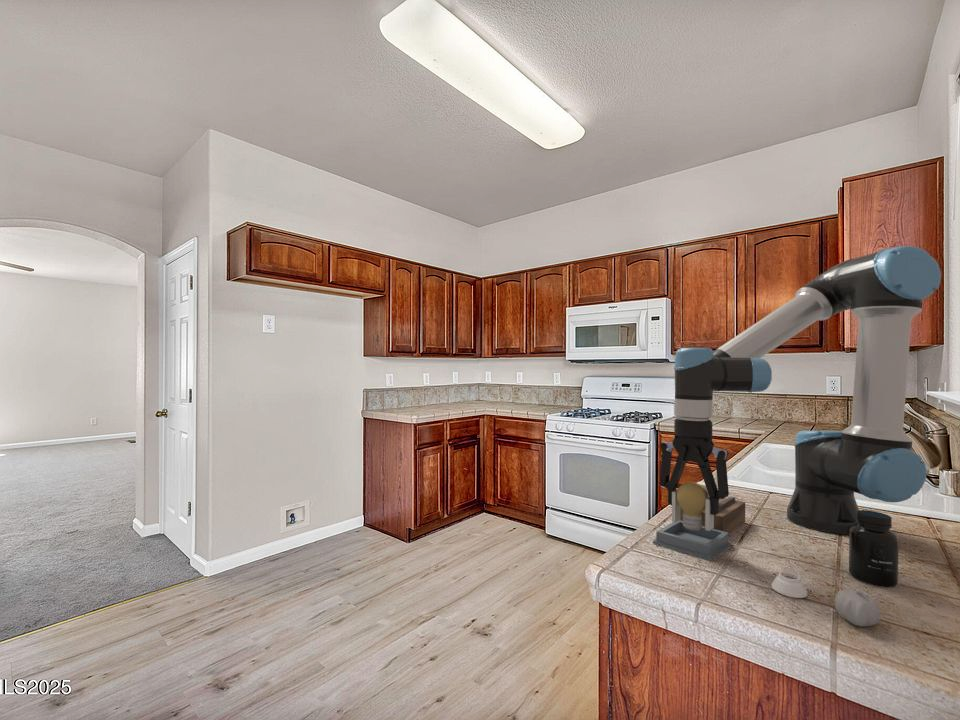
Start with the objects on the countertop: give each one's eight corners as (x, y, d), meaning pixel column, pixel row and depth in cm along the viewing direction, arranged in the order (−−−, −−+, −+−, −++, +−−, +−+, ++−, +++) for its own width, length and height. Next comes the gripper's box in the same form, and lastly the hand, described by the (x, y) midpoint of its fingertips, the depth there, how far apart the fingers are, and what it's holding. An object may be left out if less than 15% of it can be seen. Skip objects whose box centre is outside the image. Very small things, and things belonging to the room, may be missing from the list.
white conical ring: (811, 602, 74) (802, 589, 79) (811, 584, 74) (802, 572, 79) (775, 596, 76) (769, 583, 81) (775, 579, 76) (769, 566, 81)
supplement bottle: (881, 591, 78) (881, 521, 78) (839, 573, 85) (839, 509, 85) (908, 585, 80) (908, 518, 80) (865, 569, 87) (866, 506, 87)
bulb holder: (731, 544, 98) (731, 532, 98) (711, 561, 89) (711, 548, 89) (676, 529, 106) (676, 518, 106) (652, 543, 98) (653, 531, 98)
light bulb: (712, 535, 94) (713, 487, 94) (680, 532, 95) (680, 485, 95) (703, 524, 100) (704, 480, 100) (673, 522, 102) (673, 478, 102)
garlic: (890, 637, 65) (890, 600, 65) (845, 629, 66) (845, 594, 67) (868, 614, 71) (868, 581, 71) (827, 608, 72) (827, 576, 72)
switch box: (745, 522, 112) (745, 498, 112) (722, 539, 101) (722, 512, 101) (699, 511, 120) (699, 489, 120) (673, 526, 109) (673, 501, 109)
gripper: (748, 421, 94) (747, 532, 93) (657, 413, 108) (656, 510, 107) (736, 424, 88) (735, 542, 88) (642, 415, 102) (641, 517, 102)
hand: (692, 524), depth 98 cm, fingers closed on light bulb, 6 cm apart
